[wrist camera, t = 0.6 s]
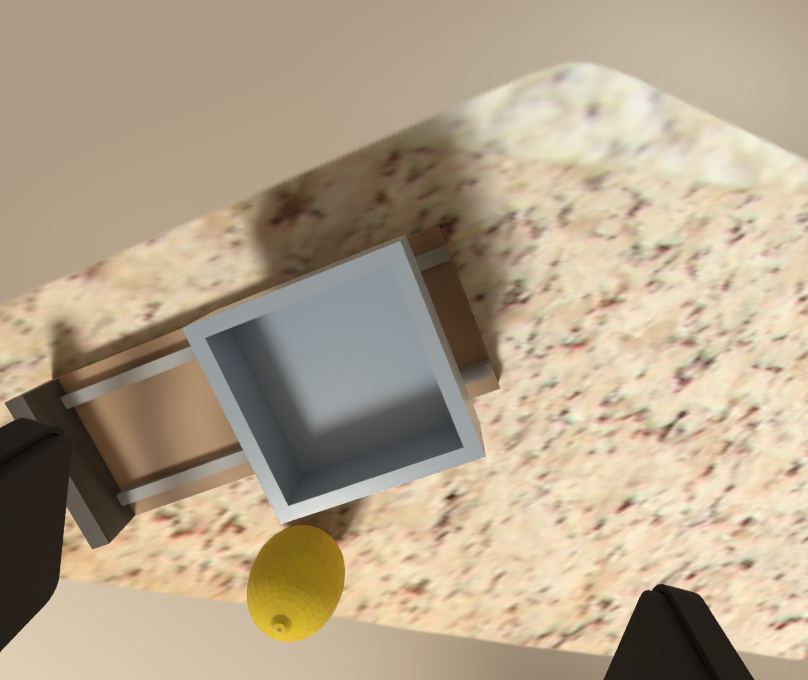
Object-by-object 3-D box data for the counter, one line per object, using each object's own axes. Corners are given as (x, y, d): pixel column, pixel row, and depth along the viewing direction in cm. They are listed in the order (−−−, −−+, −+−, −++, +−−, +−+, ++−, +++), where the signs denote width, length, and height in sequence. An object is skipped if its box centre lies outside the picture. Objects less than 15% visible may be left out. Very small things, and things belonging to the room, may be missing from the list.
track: (438, 224, 32) (438, 229, 28) (498, 382, 34) (506, 407, 30) (51, 379, 35) (4, 402, 32) (127, 512, 38) (92, 549, 34)
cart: (407, 230, 30) (400, 240, 24) (477, 408, 32) (485, 456, 27) (229, 302, 32) (181, 328, 26) (307, 467, 34) (280, 524, 28)
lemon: (257, 551, 38) (211, 644, 30) (292, 487, 36) (253, 567, 29) (331, 587, 38) (303, 688, 30) (368, 525, 37) (349, 615, 29)
